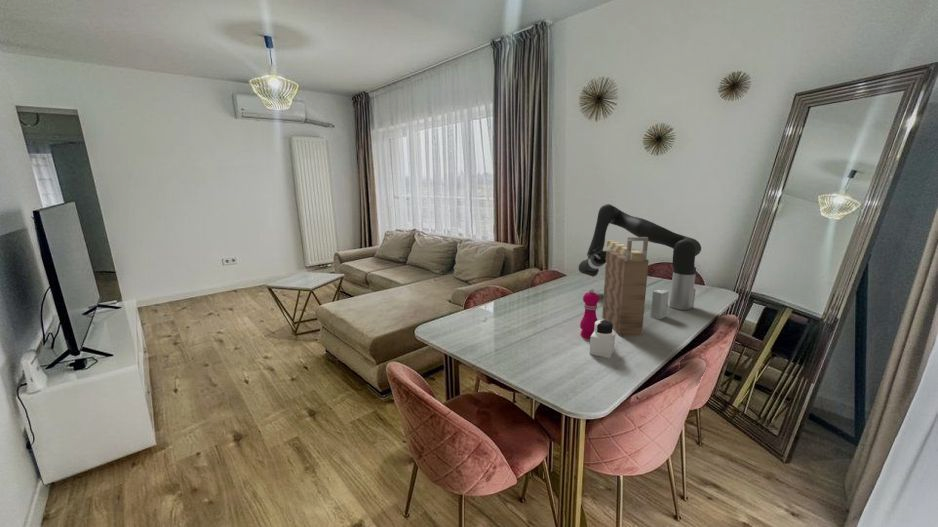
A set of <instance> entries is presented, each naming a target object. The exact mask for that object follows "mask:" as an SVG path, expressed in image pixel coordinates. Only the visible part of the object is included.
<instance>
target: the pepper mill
mask: <svg viewBox="0 0 938 527" xmlns="http://www.w3.org/2000/svg"><path fill="white" fill-rule="evenodd" d="M582 301H583V303H584V304H583V308H584V314H583V316H582V318H581V320H580V323H579V327H580V329H581V330H580V336H581V338H583V339H585V338H586V340H590V338H591V335H592V334H593V332H594V328H595V322H596V321H598V320H599V319H598V317H597V310H598V304H599V303H600V296H599V295H598V293H596V292H595V290H594V289H593V288H589V290H588V291H587V292H585V293H584V294H583V297H582Z"/></svg>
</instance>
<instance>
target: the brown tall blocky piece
mask: <svg viewBox="0 0 938 527" xmlns="http://www.w3.org/2000/svg"><path fill="white" fill-rule="evenodd" d="M626 242H627V243H626V244H627V245H626V246H627V253H626V257H625V256H623V255H621V254H619V253H617V252H615V251H614V250H612V249H607V250H606V251H607V252H606V263H605V267H604V268H605V269H604V270H605V271H604V283H603V284H604V285H603V301H602V316H601V317H602V318H603V319H602V320H607V321H609V322H611V323H612V324H613V329H612V331H614V333H615V334H617V335H618V336H620V337H623V336H624V337H625V336H626V337H627V336H629V337H630V336H633V337H634V336H635V337H636V336H640V337H641V336H643V326H644V316H645V315H644V314H645V306H646V305H645V304H646V293H647V283H648V282H647V281H648V271H649V262H650V261H649V259H648V258H647V256H648V255H647V254H648V244H649V241H648V237H637V236H636V237H632V236H631V237H630V236H629V237H627V241H626ZM632 242H642V250H641V253H643V261H633V260H631V248H632V244H633V243H632Z"/></svg>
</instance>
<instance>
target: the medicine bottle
mask: <svg viewBox="0 0 938 527" xmlns="http://www.w3.org/2000/svg"><path fill="white" fill-rule="evenodd" d="M597 320H598V321H596V322H595V328H594V332H593V334H592V335H591V338H590V339H589V341H590V342H589V355H592V356H595V357H600V358H605V359H611V358H612V355H613V354H614V351H615V343H616V342H615V341H616V332H613V324H612V323H611V322H609V321H607V320H604V319H597Z"/></svg>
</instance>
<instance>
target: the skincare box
mask: <svg viewBox="0 0 938 527" xmlns="http://www.w3.org/2000/svg"><path fill="white" fill-rule="evenodd" d="M669 294H670V292H669V291H668V290H665V289H660V288H659V289H657V290H652V297H651V298H652V300H651V311H650V317H651V318H653V319H656V320H662V319H665V318H666V317H667V316H668V304H669Z"/></svg>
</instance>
